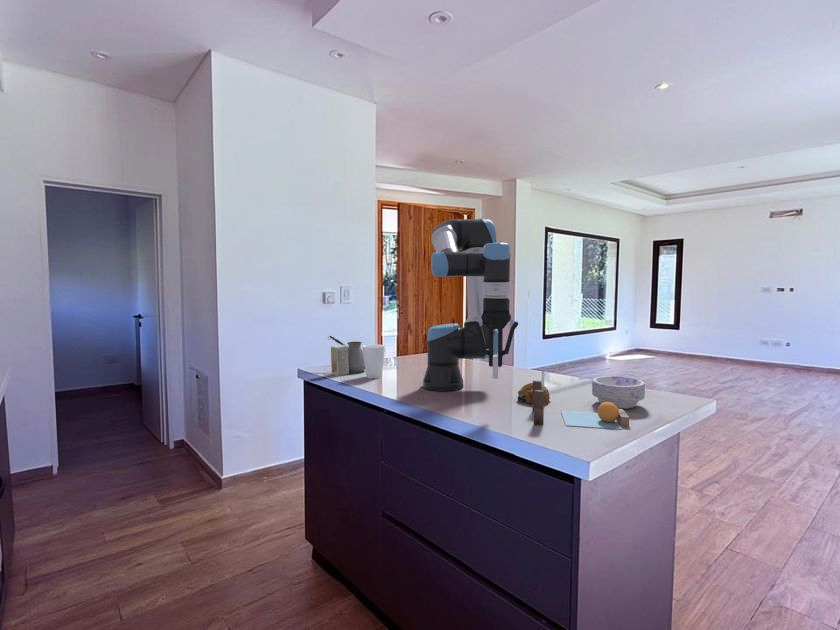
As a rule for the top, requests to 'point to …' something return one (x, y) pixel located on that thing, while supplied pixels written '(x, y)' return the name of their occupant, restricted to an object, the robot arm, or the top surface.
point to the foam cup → (373, 359)
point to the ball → (608, 412)
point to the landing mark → (587, 420)
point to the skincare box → (339, 360)
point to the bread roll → (531, 394)
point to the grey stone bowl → (618, 390)
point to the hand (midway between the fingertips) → (495, 377)
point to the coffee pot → (354, 356)
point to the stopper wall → (623, 418)
